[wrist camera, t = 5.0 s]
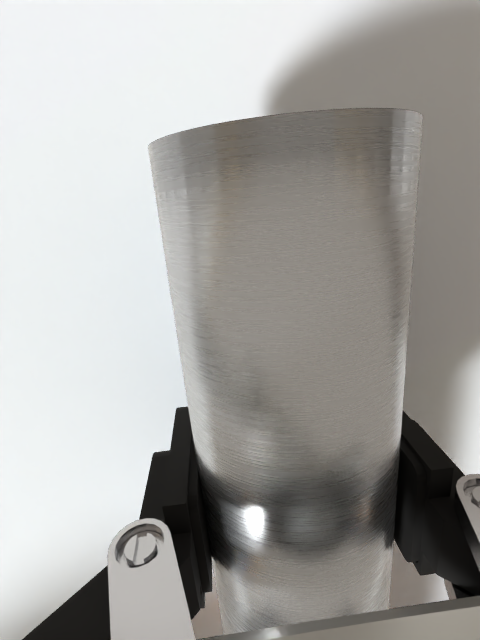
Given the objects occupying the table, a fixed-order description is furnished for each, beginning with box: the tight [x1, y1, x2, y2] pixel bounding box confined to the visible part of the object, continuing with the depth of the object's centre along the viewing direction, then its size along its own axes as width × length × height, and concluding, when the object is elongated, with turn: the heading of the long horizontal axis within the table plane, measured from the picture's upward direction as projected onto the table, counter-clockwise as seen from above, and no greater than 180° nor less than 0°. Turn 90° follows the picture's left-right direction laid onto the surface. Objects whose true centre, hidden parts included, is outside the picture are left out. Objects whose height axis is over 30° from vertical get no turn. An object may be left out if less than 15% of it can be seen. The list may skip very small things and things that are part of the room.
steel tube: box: [148, 108, 423, 635], centre depth 11 cm, size 24×5×5 cm, turn 5°
